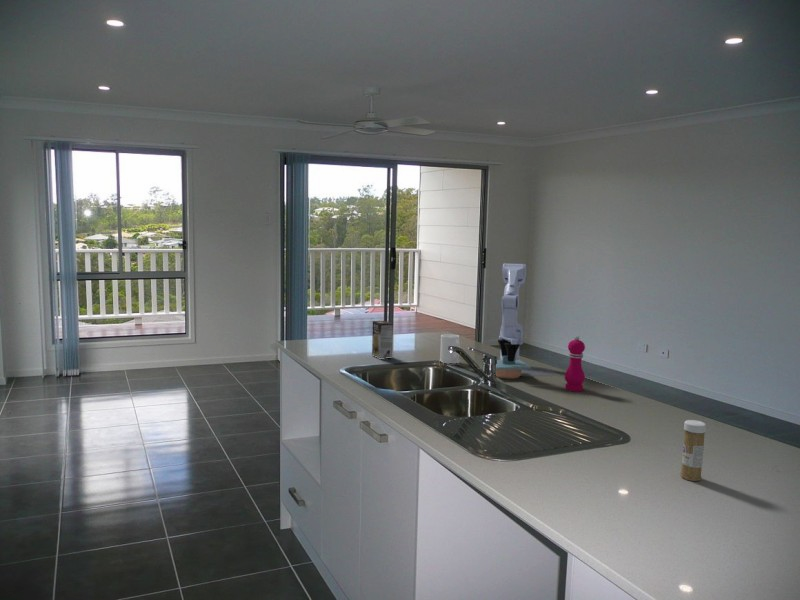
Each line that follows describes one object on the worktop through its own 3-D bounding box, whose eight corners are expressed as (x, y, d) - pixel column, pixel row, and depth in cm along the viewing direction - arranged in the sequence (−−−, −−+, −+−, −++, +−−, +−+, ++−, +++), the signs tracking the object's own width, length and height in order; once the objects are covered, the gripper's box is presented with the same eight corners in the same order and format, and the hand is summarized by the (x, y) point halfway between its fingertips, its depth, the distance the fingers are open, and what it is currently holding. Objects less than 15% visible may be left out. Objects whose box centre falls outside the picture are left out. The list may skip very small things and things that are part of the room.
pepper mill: (582, 387, 231) (585, 334, 229) (586, 392, 224) (589, 337, 222) (562, 386, 232) (565, 333, 229) (565, 391, 224) (568, 337, 222)
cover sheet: (486, 361, 251) (487, 352, 251) (519, 361, 253) (520, 352, 253) (496, 369, 238) (496, 359, 237) (531, 369, 239) (532, 359, 239)
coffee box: (371, 356, 281) (372, 320, 279) (384, 355, 283) (385, 320, 282) (379, 359, 273) (380, 323, 271) (392, 358, 275) (393, 323, 274)
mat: (509, 368, 261) (509, 367, 261) (546, 368, 264) (546, 367, 263) (522, 377, 246) (522, 376, 246) (560, 376, 248) (560, 375, 248)
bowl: (490, 373, 250) (491, 362, 250) (515, 373, 252) (515, 362, 251) (498, 379, 240) (498, 368, 239) (523, 379, 241) (524, 368, 241)
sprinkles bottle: (676, 474, 147) (680, 419, 146) (694, 474, 147) (698, 419, 146) (687, 482, 142) (691, 425, 141) (705, 481, 143) (710, 425, 141)
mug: (466, 365, 266) (467, 337, 264) (449, 366, 262) (450, 338, 261) (452, 360, 276) (453, 333, 275) (436, 361, 273) (436, 334, 271)
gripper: (494, 322, 250) (492, 355, 252) (504, 328, 236) (503, 363, 237) (511, 322, 251) (509, 355, 253) (522, 328, 237) (521, 363, 238)
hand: (507, 359), depth 245 cm, fingers open, 7 cm apart
